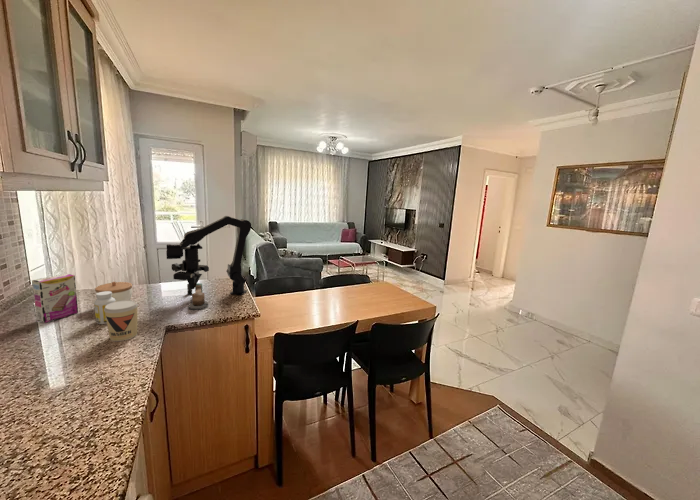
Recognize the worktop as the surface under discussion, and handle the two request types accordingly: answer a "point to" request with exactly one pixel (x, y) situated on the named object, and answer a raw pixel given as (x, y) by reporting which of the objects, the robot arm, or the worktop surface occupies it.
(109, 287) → the lidded bowl
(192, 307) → the dark grey pieces
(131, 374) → the worktop surface
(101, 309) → the pill bottle
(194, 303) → the capstan lever
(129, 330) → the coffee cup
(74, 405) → the worktop surface
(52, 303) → the candy bar box
